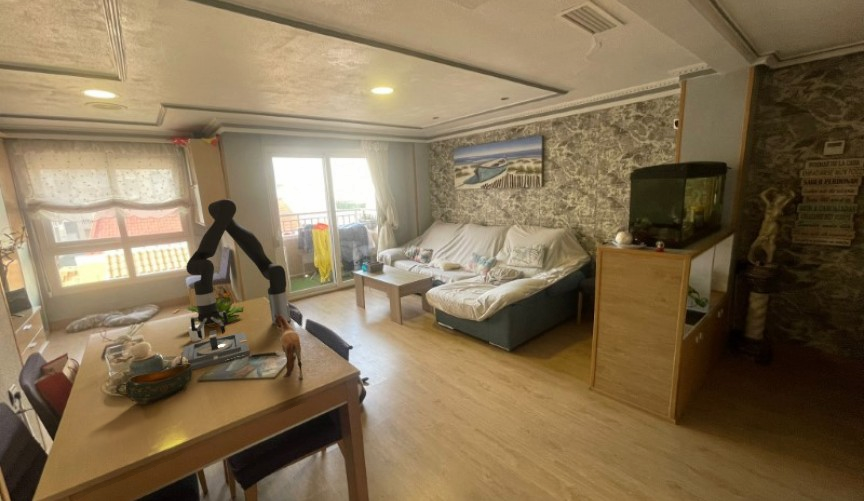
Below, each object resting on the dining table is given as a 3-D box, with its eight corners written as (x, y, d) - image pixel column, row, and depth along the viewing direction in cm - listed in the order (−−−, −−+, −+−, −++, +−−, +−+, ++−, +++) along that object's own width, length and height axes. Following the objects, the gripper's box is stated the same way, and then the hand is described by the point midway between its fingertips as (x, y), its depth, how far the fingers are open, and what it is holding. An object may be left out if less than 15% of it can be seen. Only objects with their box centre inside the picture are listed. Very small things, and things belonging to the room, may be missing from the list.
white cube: (209, 335, 184) (206, 323, 183) (199, 341, 177) (196, 328, 176) (197, 336, 185) (194, 323, 183) (186, 341, 178) (184, 329, 177)
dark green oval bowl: (136, 392, 132) (130, 368, 131) (196, 381, 139) (192, 357, 137) (118, 413, 120) (112, 386, 119) (185, 399, 127) (180, 374, 125)
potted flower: (222, 332, 187) (217, 301, 184) (179, 334, 188) (173, 303, 185) (247, 315, 212) (243, 287, 209) (209, 317, 213) (204, 290, 209)
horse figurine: (280, 357, 154) (274, 313, 151) (299, 352, 158) (293, 309, 154) (285, 392, 127) (276, 339, 123) (307, 385, 130) (300, 334, 126)
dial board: (245, 335, 181) (244, 329, 180) (249, 354, 159) (248, 347, 158) (184, 350, 167) (183, 343, 167) (180, 373, 145) (178, 365, 145)
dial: (231, 338, 172) (229, 324, 171) (233, 349, 160) (230, 334, 159) (198, 347, 165) (195, 332, 164) (197, 358, 153) (193, 342, 152)
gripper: (224, 297, 165) (229, 329, 168) (188, 303, 158) (194, 337, 161) (224, 301, 159) (230, 334, 162) (186, 307, 152) (193, 342, 155)
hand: (212, 335), depth 161 cm, fingers open, 8 cm apart
